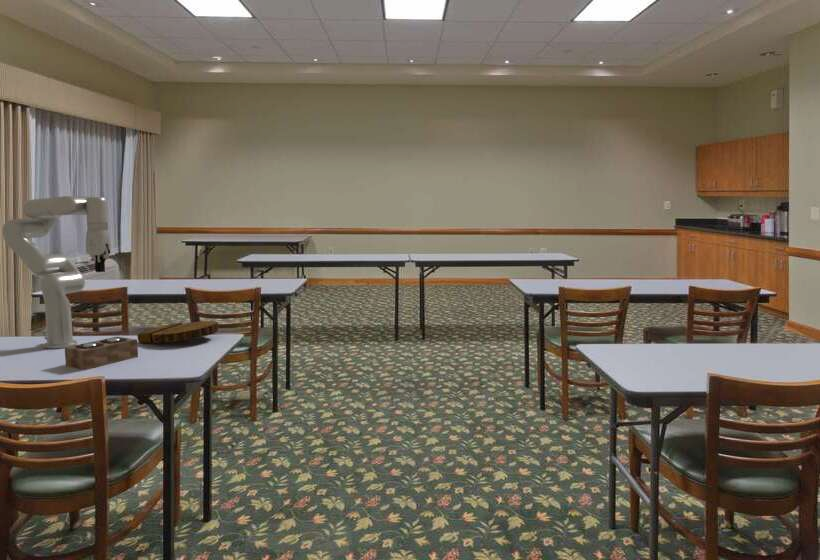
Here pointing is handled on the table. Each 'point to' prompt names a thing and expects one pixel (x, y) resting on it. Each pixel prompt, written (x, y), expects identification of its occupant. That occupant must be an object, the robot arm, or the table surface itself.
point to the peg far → (113, 339)
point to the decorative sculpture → (178, 332)
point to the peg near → (89, 344)
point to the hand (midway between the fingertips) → (100, 271)
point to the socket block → (101, 353)
